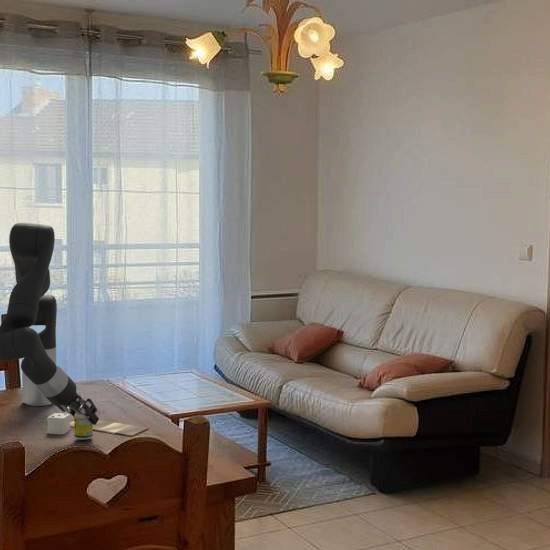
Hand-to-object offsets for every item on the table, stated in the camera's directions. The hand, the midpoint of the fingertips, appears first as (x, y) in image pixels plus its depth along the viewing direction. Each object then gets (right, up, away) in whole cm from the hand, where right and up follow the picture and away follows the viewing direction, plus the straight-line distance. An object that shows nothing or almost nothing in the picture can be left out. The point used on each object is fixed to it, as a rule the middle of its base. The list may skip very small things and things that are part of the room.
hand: (88, 420), depth 214 cm
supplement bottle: (-1, -4, -1) cm, 5 cm away
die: (-9, -4, +6) cm, 12 cm away
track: (+3, -4, +10) cm, 11 cm away
